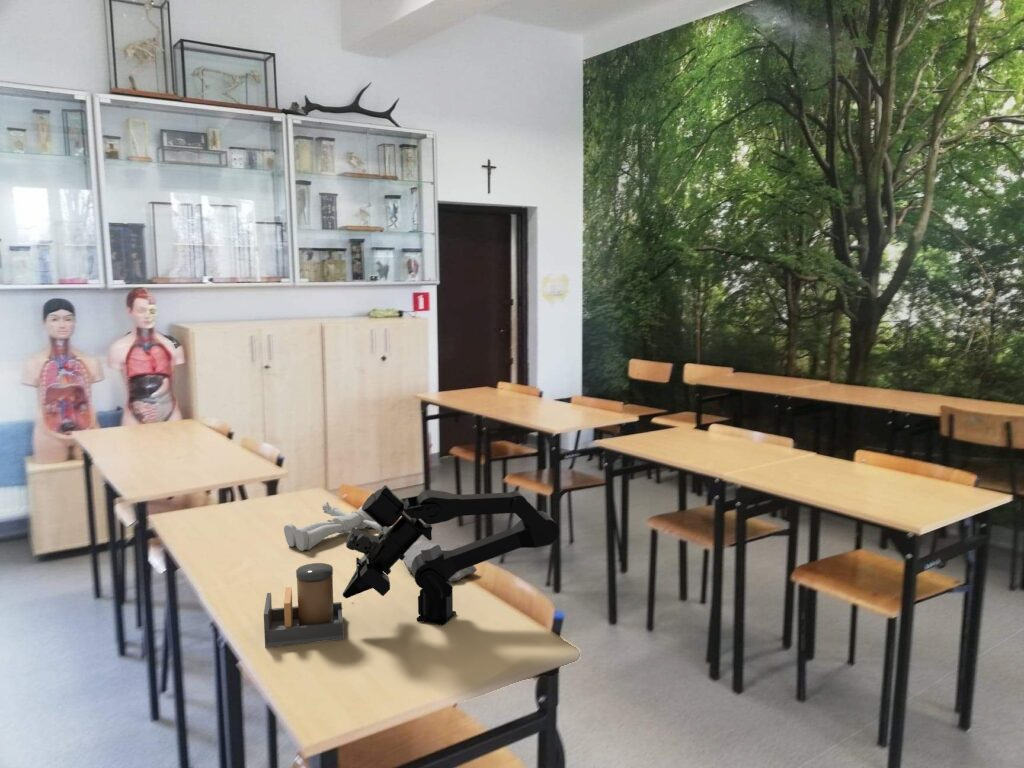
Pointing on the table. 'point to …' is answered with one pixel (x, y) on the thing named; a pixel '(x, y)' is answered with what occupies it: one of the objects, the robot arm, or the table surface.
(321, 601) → the jar
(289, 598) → the block
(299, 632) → the tray
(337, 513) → the toy
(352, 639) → the table surface
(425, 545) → the stone
